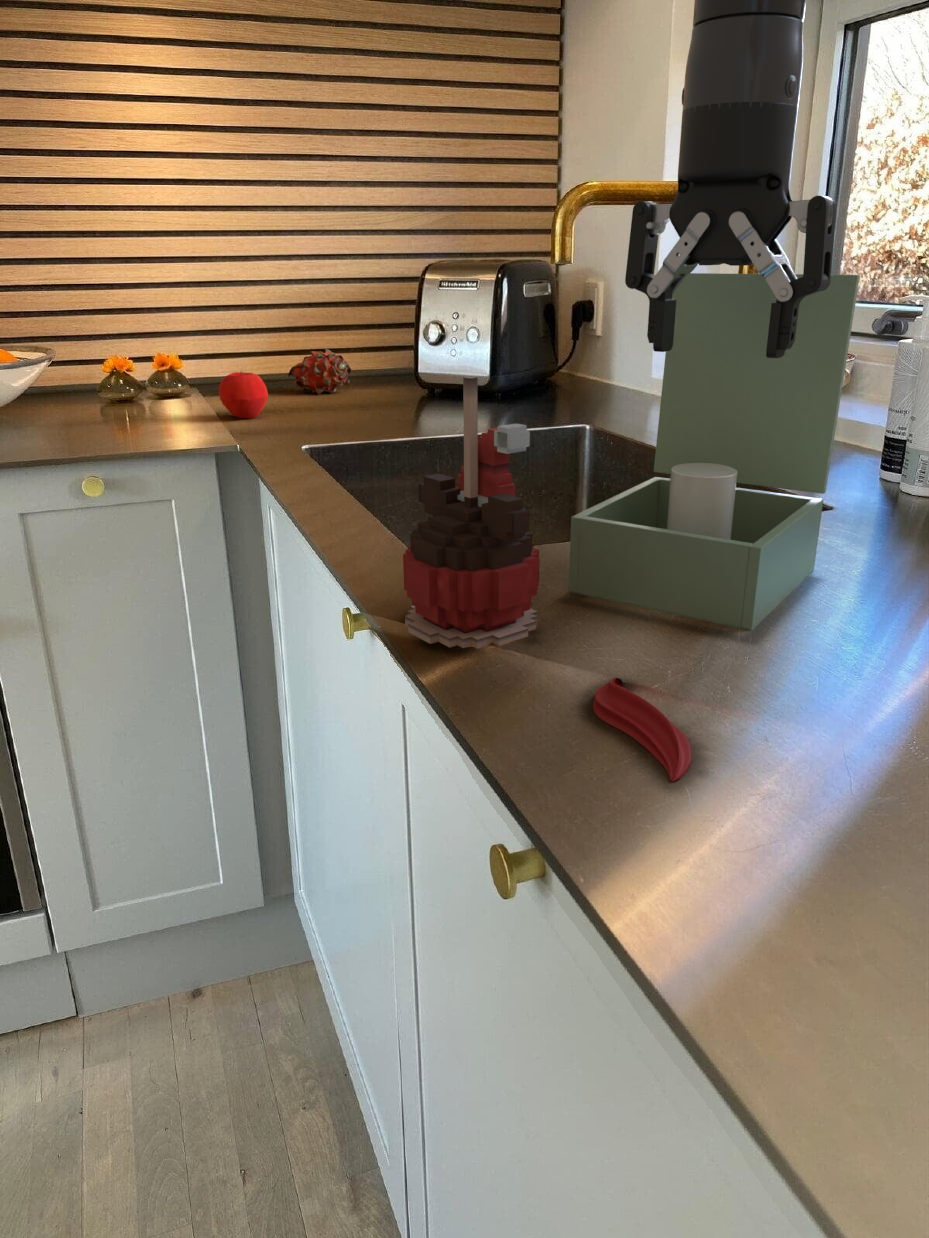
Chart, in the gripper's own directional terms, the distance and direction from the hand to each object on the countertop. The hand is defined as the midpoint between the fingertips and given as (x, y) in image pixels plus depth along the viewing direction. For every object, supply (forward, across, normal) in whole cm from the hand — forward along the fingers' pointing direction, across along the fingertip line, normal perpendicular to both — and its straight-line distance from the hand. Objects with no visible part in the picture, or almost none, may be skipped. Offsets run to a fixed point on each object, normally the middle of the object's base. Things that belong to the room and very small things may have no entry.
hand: (716, 354), depth 69 cm
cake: (+19, +10, +17) cm, 27 cm away
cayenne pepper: (+19, -6, +24) cm, 31 cm away
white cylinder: (+18, 0, 0) cm, 18 cm away
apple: (+19, +92, -38) cm, 101 cm away
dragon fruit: (+19, +100, -65) cm, 121 cm away
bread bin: (+18, 0, 0) cm, 18 cm away
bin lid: (+3, 0, -8) cm, 9 cm away
